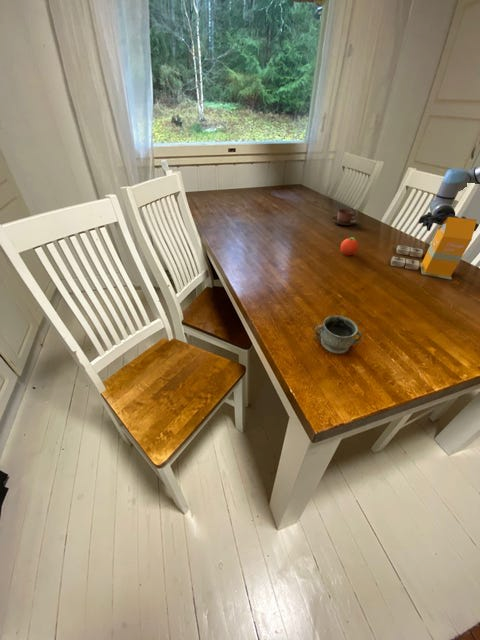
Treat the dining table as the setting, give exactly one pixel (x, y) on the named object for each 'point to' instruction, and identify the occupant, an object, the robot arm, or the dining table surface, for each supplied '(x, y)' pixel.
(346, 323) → the vessel
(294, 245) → the dining table surface
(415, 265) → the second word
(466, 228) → the orange juice
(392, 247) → the dining table surface
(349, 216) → the cup and saucer
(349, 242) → the tomato
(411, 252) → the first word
